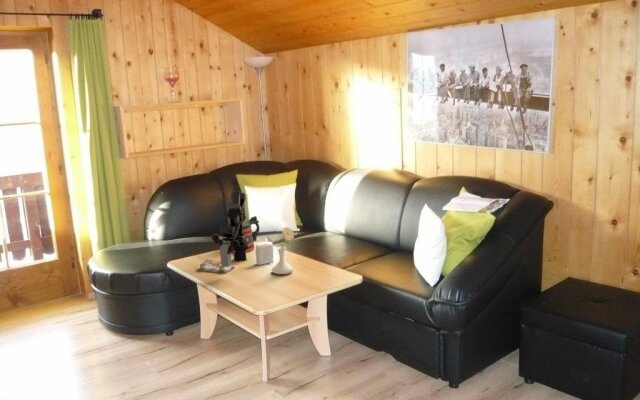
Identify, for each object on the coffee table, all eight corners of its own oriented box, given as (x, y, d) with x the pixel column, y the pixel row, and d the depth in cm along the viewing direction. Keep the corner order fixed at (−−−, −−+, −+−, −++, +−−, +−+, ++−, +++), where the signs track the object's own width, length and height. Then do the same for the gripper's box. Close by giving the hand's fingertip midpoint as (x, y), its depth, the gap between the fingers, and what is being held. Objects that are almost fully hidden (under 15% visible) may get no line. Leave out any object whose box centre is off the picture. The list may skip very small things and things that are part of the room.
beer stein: (254, 243, 377) (252, 213, 373) (264, 249, 365) (263, 217, 361) (226, 248, 368) (224, 217, 364) (235, 254, 355) (234, 222, 351)
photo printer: (271, 260, 342) (270, 239, 339) (274, 262, 338) (273, 241, 336) (255, 264, 336) (254, 242, 334) (258, 265, 333) (257, 244, 330)
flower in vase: (276, 277, 312) (274, 231, 307) (268, 271, 322) (266, 227, 317) (299, 273, 318) (297, 228, 313) (290, 267, 328) (288, 223, 323)
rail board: (196, 271, 327) (196, 263, 326) (206, 265, 336) (205, 258, 335) (225, 273, 321) (225, 266, 320) (234, 268, 330) (234, 261, 329)
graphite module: (225, 264, 316) (223, 243, 313) (231, 264, 314) (230, 244, 312) (221, 266, 312) (220, 246, 310) (228, 266, 311) (226, 246, 308)
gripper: (211, 219, 315) (202, 245, 307) (243, 221, 309) (234, 247, 301) (220, 230, 324) (211, 255, 316) (250, 232, 318) (242, 258, 310)
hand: (224, 253), depth 310 cm, fingers closed on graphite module, 4 cm apart
